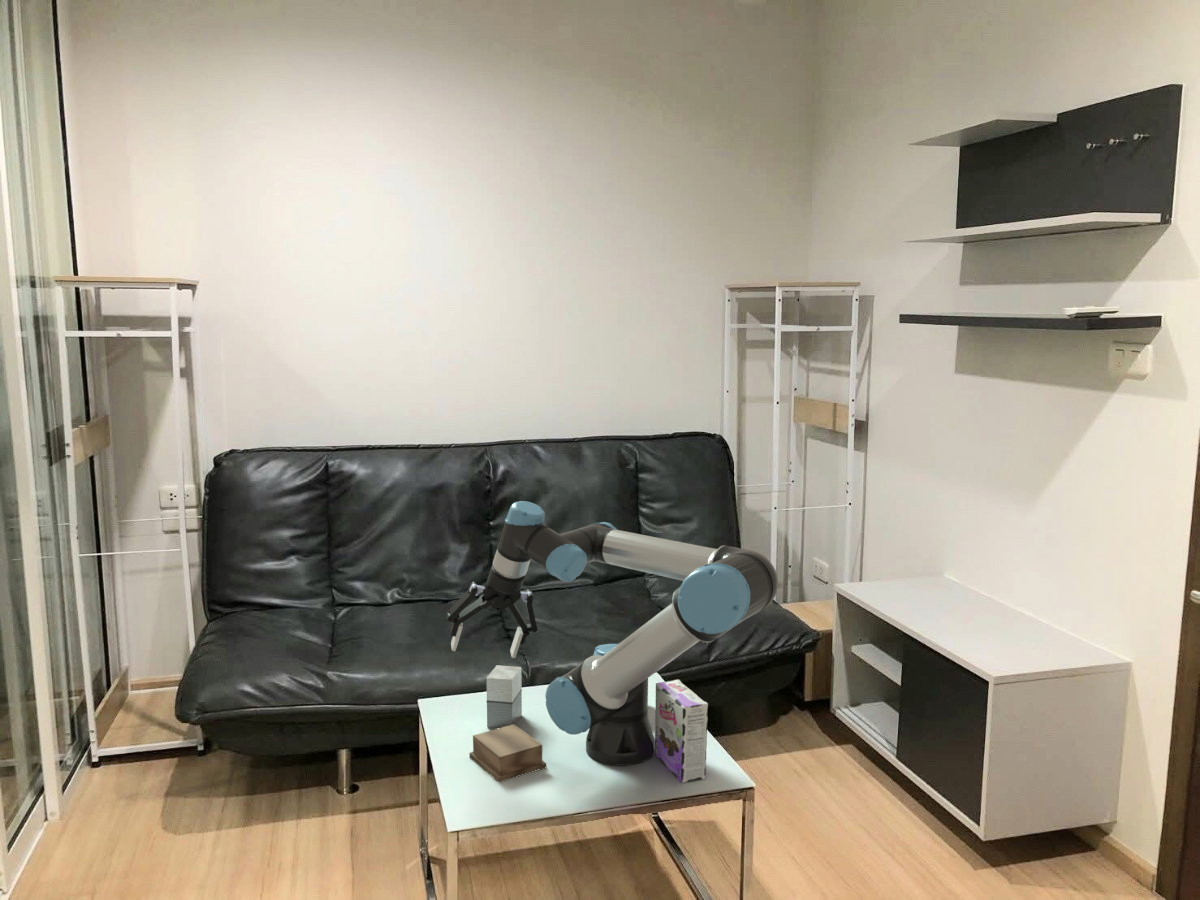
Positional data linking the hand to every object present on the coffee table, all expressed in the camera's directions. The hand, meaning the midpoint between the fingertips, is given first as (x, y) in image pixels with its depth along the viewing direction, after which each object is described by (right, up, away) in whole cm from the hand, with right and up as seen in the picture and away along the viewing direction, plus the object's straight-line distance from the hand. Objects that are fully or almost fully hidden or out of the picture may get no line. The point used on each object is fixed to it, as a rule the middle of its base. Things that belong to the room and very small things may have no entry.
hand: (483, 651), depth 211 cm
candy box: (+43, -22, -10) cm, 49 cm away
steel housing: (+4, -19, +12) cm, 22 cm away
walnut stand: (+6, -22, -9) cm, 24 cm away
